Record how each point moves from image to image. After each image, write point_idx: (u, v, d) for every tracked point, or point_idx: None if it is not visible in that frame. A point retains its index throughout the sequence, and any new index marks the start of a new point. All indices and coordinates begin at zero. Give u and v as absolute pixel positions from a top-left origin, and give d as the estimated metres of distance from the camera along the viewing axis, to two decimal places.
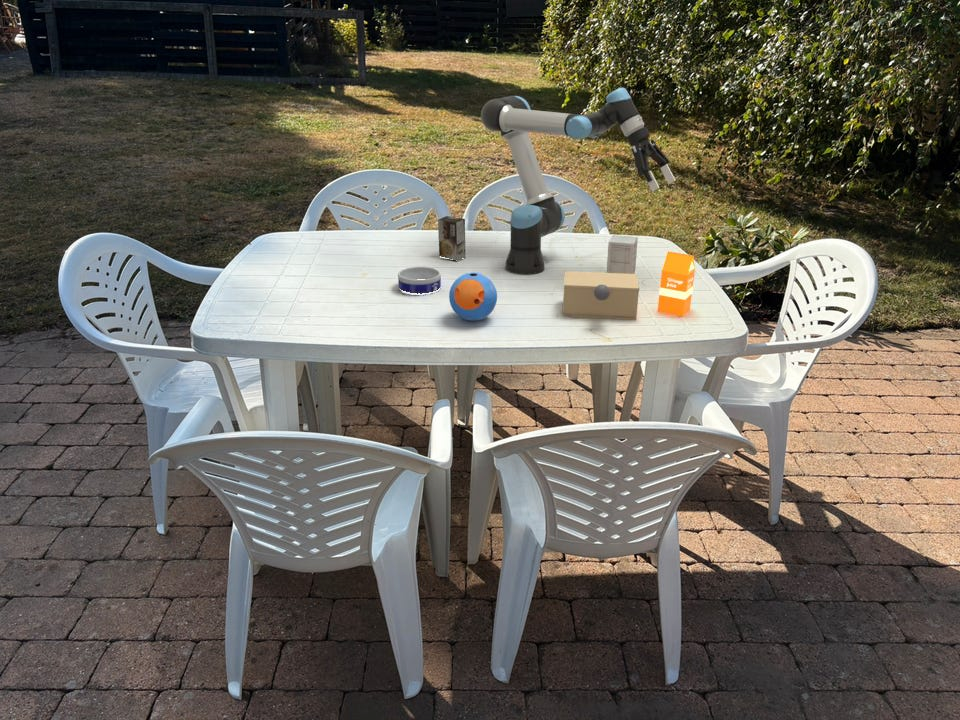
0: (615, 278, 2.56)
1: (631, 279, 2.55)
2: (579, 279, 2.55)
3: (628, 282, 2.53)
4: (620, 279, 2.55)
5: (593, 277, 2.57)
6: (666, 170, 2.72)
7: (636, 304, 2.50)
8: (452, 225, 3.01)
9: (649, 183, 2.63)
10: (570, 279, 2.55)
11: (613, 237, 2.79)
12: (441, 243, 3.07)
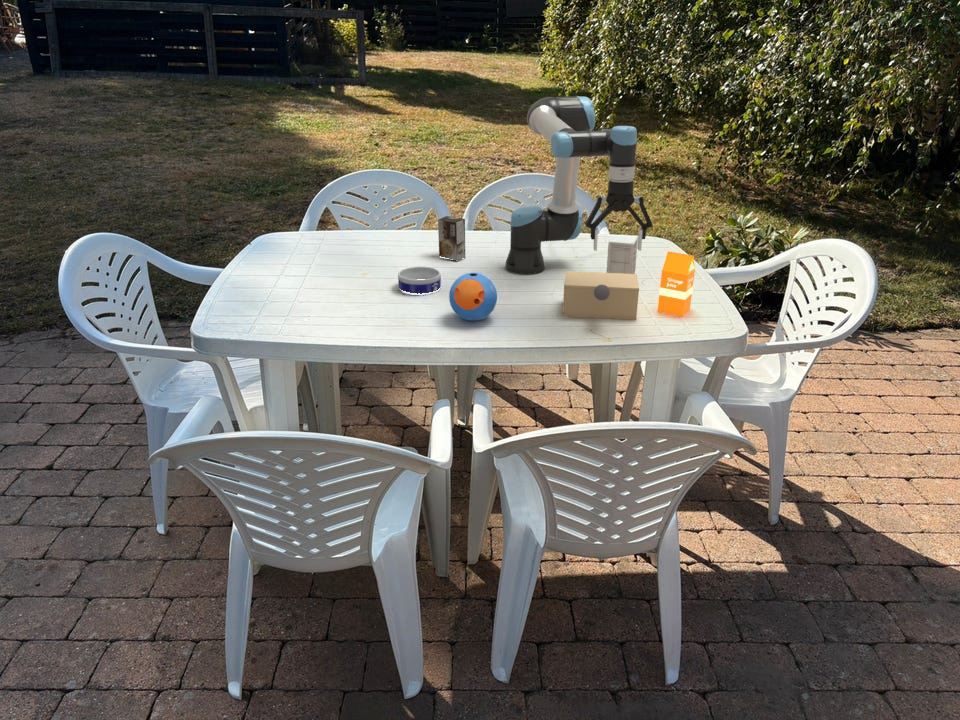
0: (615, 278, 2.56)
1: (631, 279, 2.55)
2: (579, 279, 2.55)
3: (628, 282, 2.53)
4: (620, 279, 2.55)
5: (593, 277, 2.57)
6: (639, 235, 2.37)
7: (636, 304, 2.50)
8: (452, 225, 3.01)
9: None
10: (570, 279, 2.55)
11: (613, 237, 2.79)
12: (441, 243, 3.07)
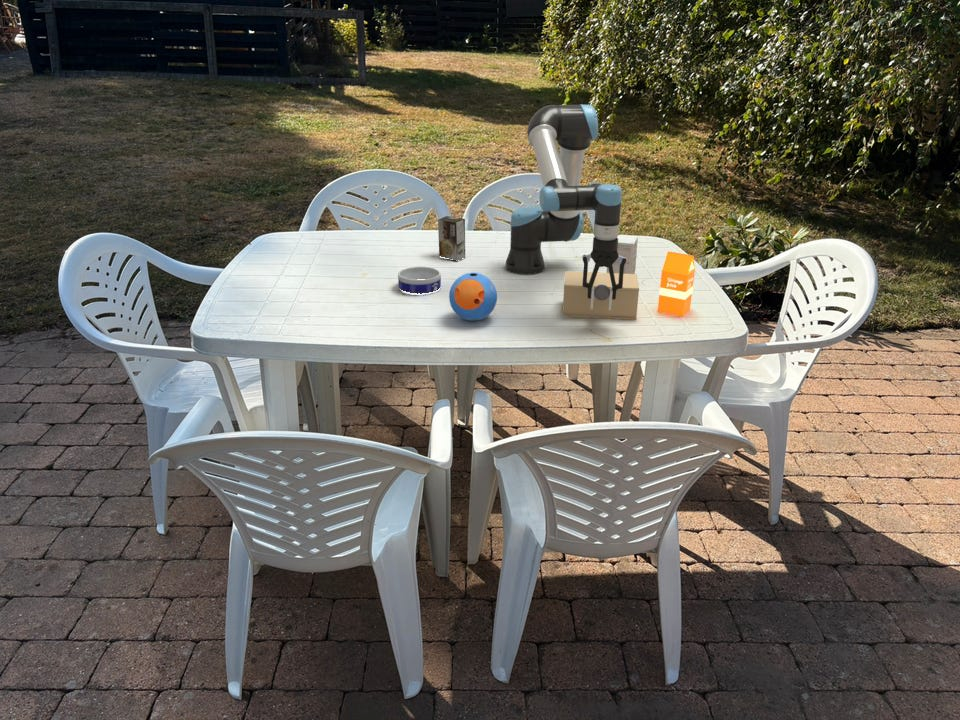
0: (615, 278, 2.56)
1: (631, 279, 2.55)
2: (579, 279, 2.55)
3: (628, 282, 2.53)
4: None
5: None
6: (609, 295, 2.42)
7: (636, 304, 2.50)
8: (452, 225, 3.01)
9: None
10: (570, 279, 2.55)
11: None
12: (441, 243, 3.07)
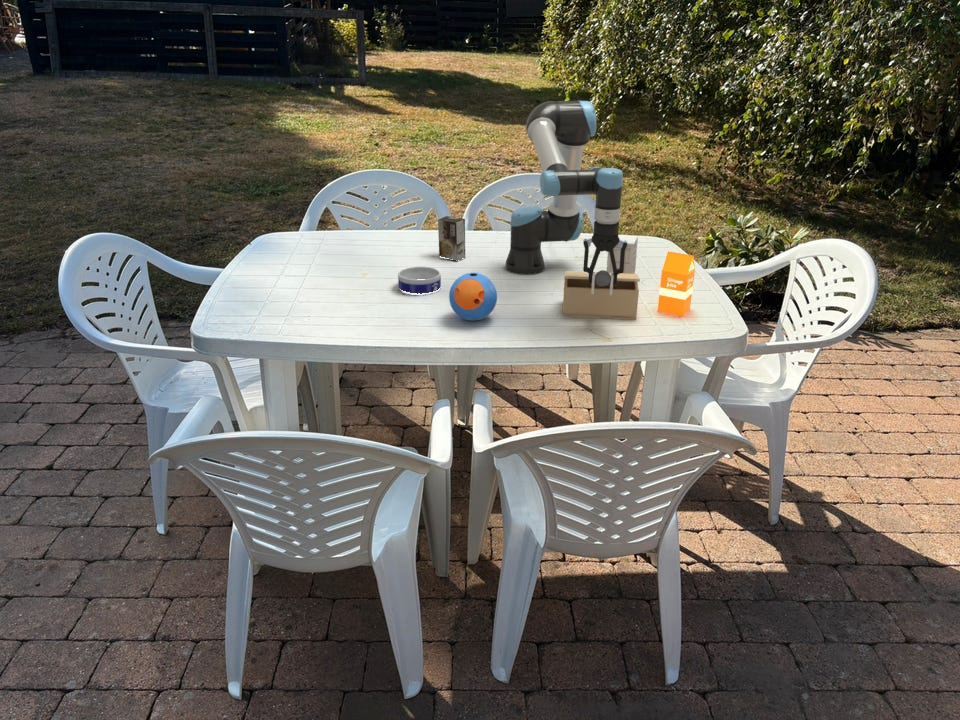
0: None
1: (631, 275, 2.55)
2: (580, 274, 2.55)
3: (628, 276, 2.52)
4: (620, 275, 2.55)
5: None
6: None
7: (636, 304, 2.50)
8: (452, 225, 3.01)
9: None
10: (570, 274, 2.55)
11: None
12: (441, 243, 3.07)
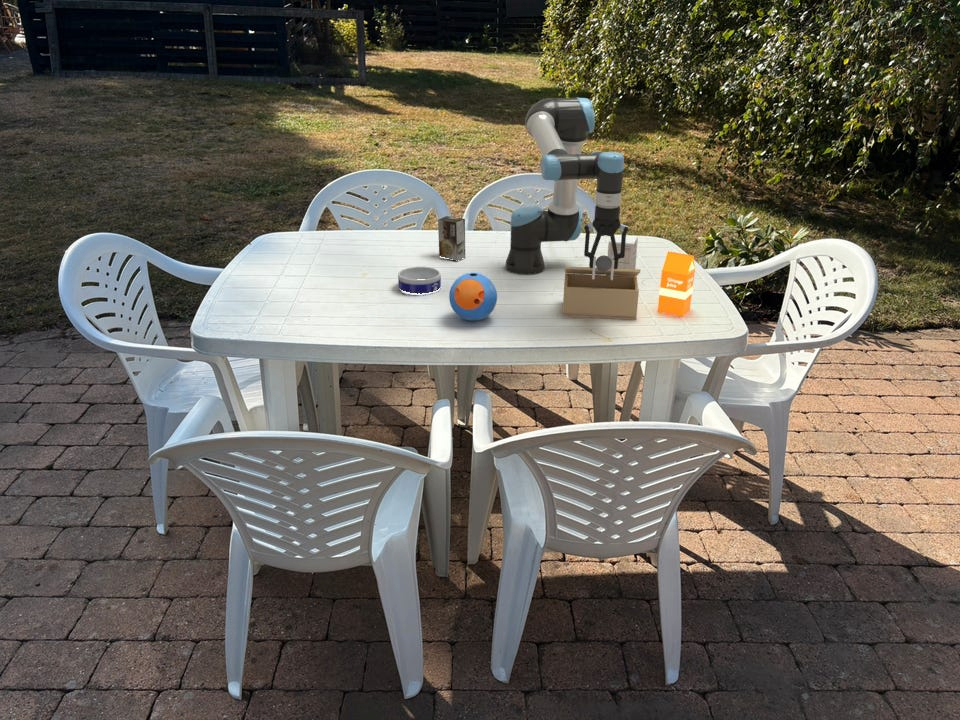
0: None
1: None
2: None
3: None
4: None
5: None
6: (611, 265, 2.41)
7: (636, 304, 2.50)
8: (452, 225, 3.01)
9: None
10: None
11: None
12: (441, 243, 3.07)
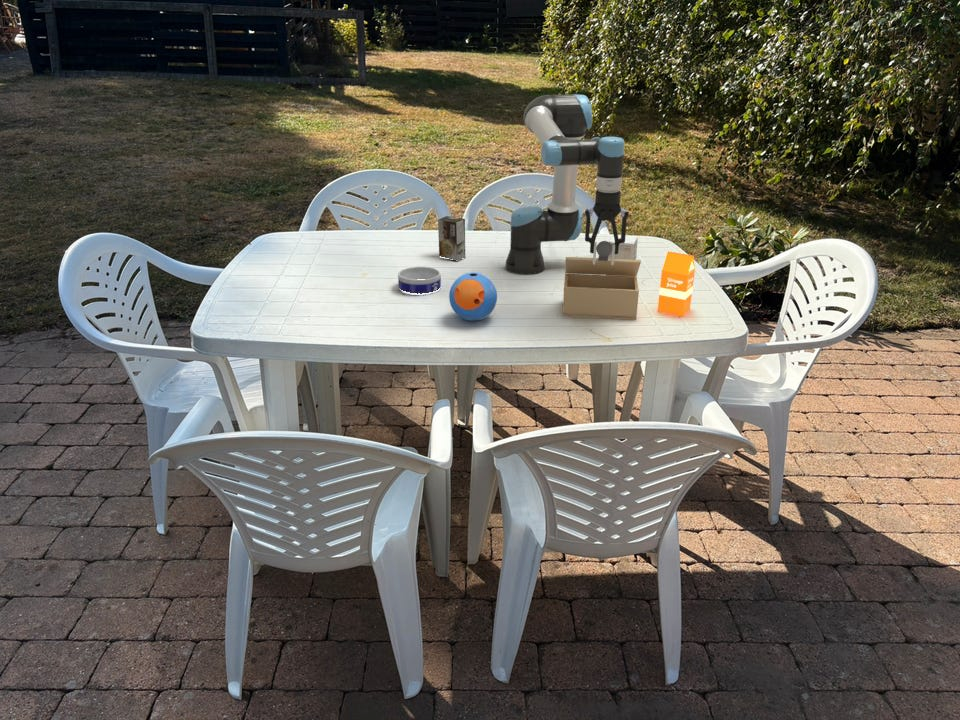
0: None
1: None
2: None
3: None
4: None
5: None
6: (612, 250, 2.42)
7: (636, 304, 2.50)
8: (452, 225, 3.01)
9: (593, 253, 2.45)
10: None
11: (613, 237, 2.79)
12: (441, 243, 3.07)
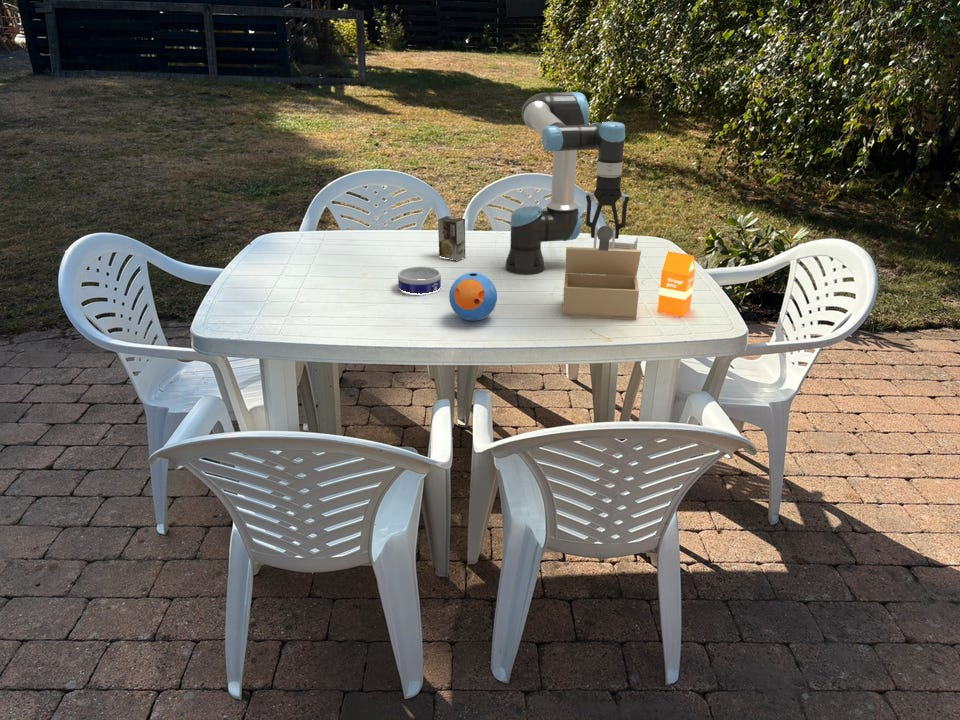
0: None
1: None
2: None
3: None
4: None
5: None
6: None
7: (636, 304, 2.50)
8: (452, 225, 3.01)
9: None
10: None
11: None
12: (441, 243, 3.07)
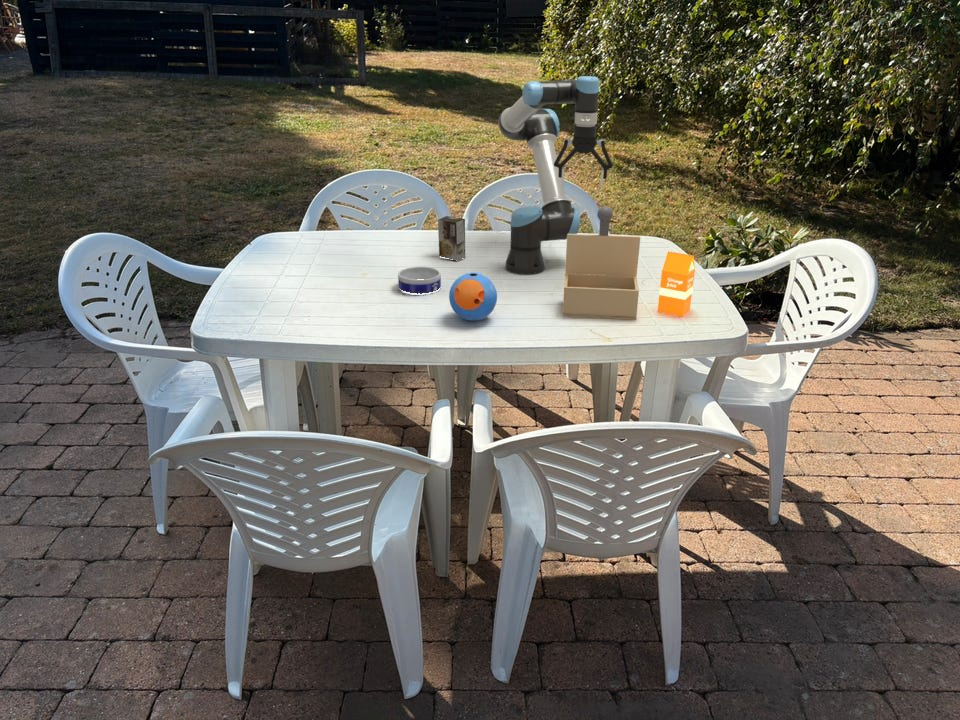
0: None
1: None
2: None
3: None
4: None
5: None
6: (601, 175, 2.68)
7: (636, 304, 2.50)
8: (452, 225, 3.01)
9: None
10: None
11: None
12: (441, 243, 3.07)
